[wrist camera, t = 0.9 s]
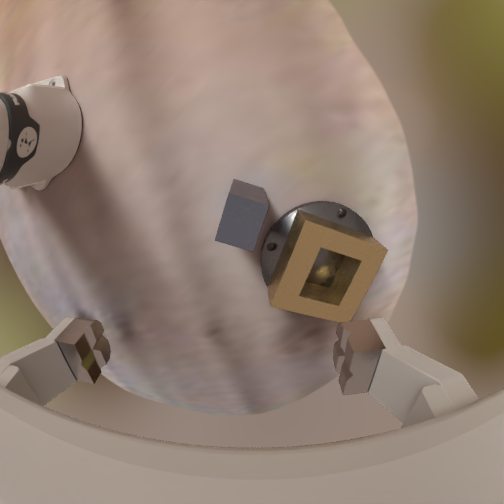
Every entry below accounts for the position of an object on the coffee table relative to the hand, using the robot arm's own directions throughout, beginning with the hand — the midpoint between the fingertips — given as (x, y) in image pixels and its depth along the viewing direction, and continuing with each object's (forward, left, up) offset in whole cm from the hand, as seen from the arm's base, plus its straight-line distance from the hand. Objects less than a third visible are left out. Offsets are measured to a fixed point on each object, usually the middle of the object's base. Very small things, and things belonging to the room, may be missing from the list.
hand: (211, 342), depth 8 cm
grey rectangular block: (+1, -2, -29) cm, 29 cm away
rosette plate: (+14, -6, -29) cm, 33 cm away
